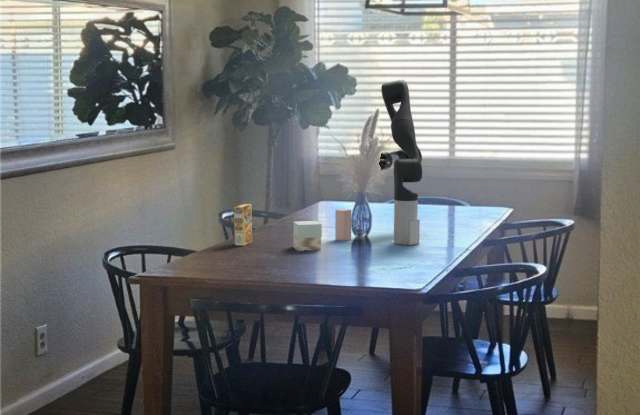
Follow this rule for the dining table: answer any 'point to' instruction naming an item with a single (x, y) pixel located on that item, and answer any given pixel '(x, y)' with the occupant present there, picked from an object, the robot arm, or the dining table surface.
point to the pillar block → (343, 224)
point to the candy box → (243, 224)
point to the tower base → (306, 243)
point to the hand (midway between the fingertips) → (361, 163)
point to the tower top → (307, 229)
